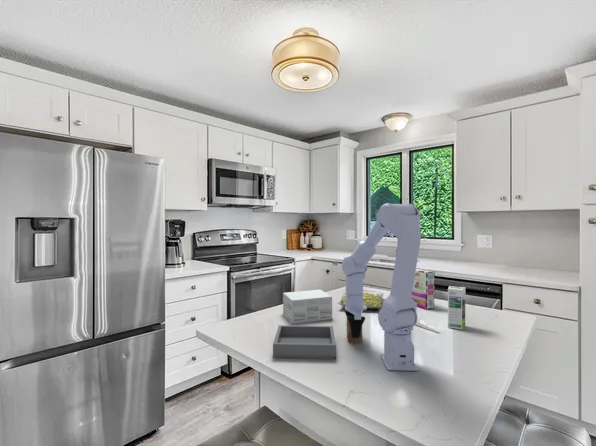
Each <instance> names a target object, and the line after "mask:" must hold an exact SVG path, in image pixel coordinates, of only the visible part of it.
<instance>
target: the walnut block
mask: <svg viewBox="0 0 596 446" xmlns="http://www.w3.org/2000/svg"><path fill="white" fill-rule="evenodd" d="M346 339H347V343H363V326H362V327H361V331H360V336H359V338H352V334H351V328H350V323H349V320H348V318H347V317H346Z"/></svg>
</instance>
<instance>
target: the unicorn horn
mask: <svg viewBox="0 0 596 446" xmlns="http://www.w3.org/2000/svg"><path fill="white" fill-rule="evenodd" d="M414 326H416V327H419V328H422V329H425V330H428V331H431V332H434V333H438V334H441V331H440V330H438V329H436V327H434V326H432V325H431V324H428V323H427V322H426V321H424V320H422V319H420V318H419V317H418V320H417V323H416V324H415V325H414Z"/></svg>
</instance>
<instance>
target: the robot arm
mask: <svg viewBox="0 0 596 446" xmlns="http://www.w3.org/2000/svg"><path fill="white" fill-rule="evenodd" d="M375 215H376V221H375V222H374V225H373V226H372V228H371V230H370V231H369V233H368V235H367V236H366V239H363V240H360V241H358V243H357V246H356V247H355V249H353V251H352V253H351V255H349V256H346V257H344V258H343V260H342V262H341V269H342V271H343V273H344V275H345V290H346V306H344V310H343V311H344V314H345V317H346V319H347V318H348V320H349V323H350V328H351V334H352V338H359V336H360V331H361V327H362V328H363V324H364V323H365V321H366V317H365V316H362V314H363V312H364V311H367V309H368V308H367V307H366V306H363V290H364V280H365V278H366V273H367V270H368V264H369V262H370V261H371V259H372V258H373V256H374V255H375V254H376V252H377V247H376V246H377V245H378V244H379V243H380V242H381V240H382V239H383V238H384V236H385V235H386V234H387V233H388V232H390V233H391V234H392V236H395V238H396V239H397V241H398V242H397V247H396V255H395V261H394V267H393V274H392V280H391V287H390V293H389V295H388V296H387V297H386V298H385V299H384V300H383V304H382V308H381V309H379V310H378V311H379V312H378V314H377V320H378V323H379V325H380V328H382V331H383V333H384V334H383V341H384V342H383V349H384V351H383V353H380V357H381V359H382V361H383V364H384V366H385V368H386V370H388V371H409V372H410V371H411V372H413V371H415V372H416V371H417V372H418V371H419V368H418V366H416V364H415V346H414V345H415V344H414V343H413V341H412V331H413V330H414V326H416V325H415V324H416V323H417V320H418V318H419V316H418V312H417V308H418V307H417V304H416V303H415V302H414V301H413V300H412V299H411V295H412V289H413V283H414V277H415V271H416V268H417V264H418V258H419V251H420V246H421V239H422V233H421V227H420V222H421V215H422V213H421V212H420V210H419V209H418V208H417V206H415V205H414V204H412V203H390V202H386V203H384V204H382V205H381V206H380V207H379V210H378V211H377V212H376V214H375Z"/></svg>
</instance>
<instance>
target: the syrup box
mask: <svg viewBox="0 0 596 446" xmlns="http://www.w3.org/2000/svg"><path fill="white" fill-rule="evenodd" d="M447 328H448V329H453V330H454V329H456V330H462V331H465V330H466V287H465V286H464V287H462V286H452V285H449V286H448V288H447Z"/></svg>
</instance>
